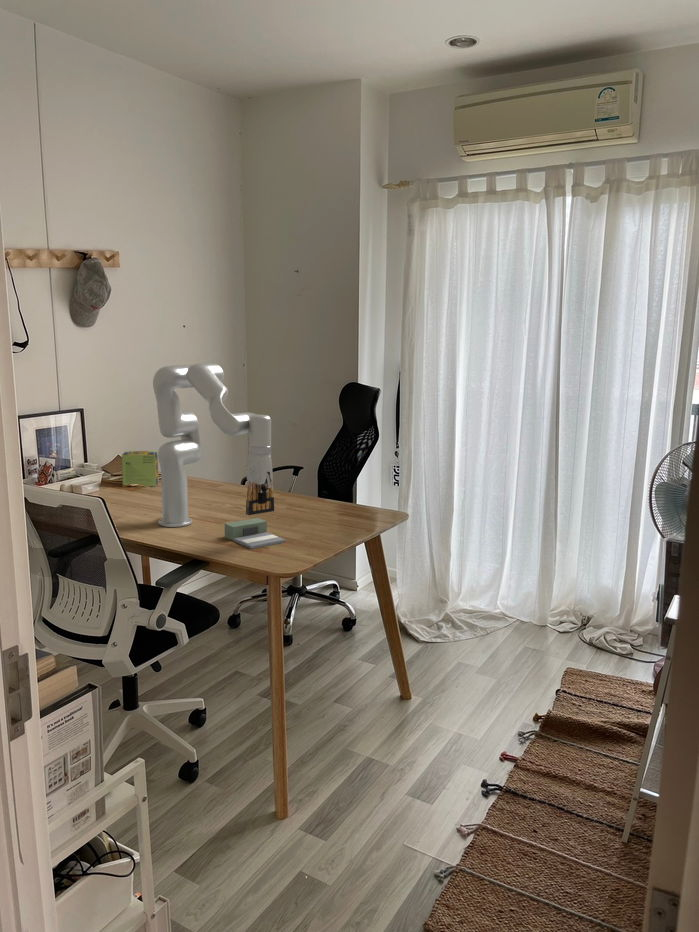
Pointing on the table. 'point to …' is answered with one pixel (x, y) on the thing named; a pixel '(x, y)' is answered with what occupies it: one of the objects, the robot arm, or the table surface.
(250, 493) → the ammunition clip
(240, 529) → the plate with green block
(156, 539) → the table surface
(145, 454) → the protein box
